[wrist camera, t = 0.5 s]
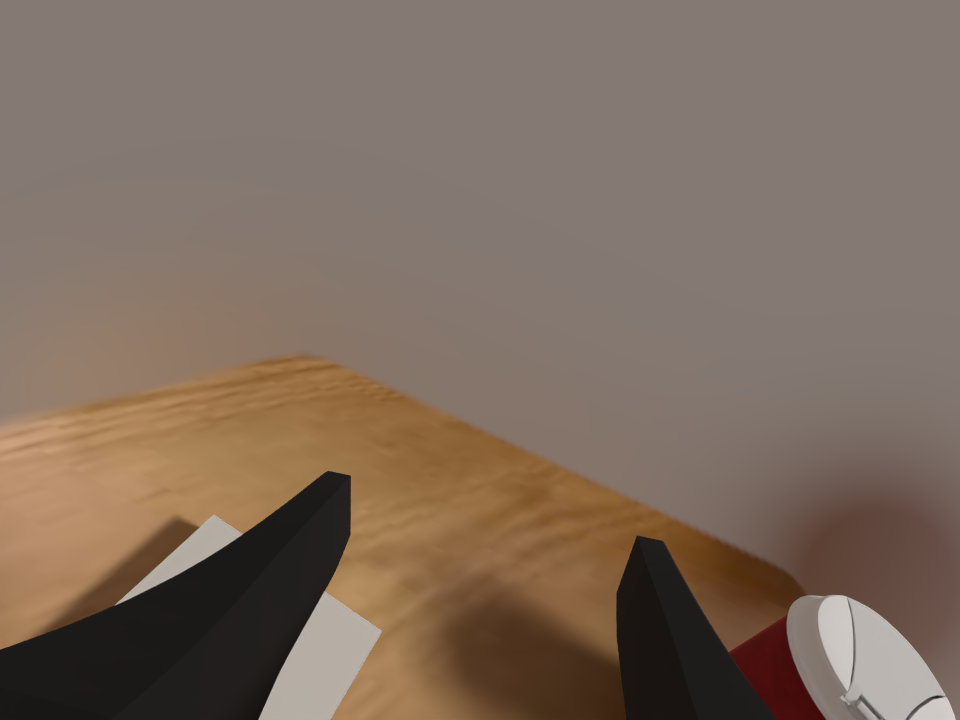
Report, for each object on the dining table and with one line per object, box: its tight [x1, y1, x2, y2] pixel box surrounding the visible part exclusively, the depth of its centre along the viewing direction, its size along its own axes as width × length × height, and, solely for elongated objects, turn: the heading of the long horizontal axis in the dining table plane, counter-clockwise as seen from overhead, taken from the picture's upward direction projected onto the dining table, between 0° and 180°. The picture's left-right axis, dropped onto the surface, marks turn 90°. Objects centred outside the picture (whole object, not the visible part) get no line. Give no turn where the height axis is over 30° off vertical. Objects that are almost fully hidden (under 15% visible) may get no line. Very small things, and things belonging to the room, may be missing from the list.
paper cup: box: [729, 595, 956, 720], centre depth 27 cm, size 8×8×14 cm
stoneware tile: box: [114, 515, 382, 720], centre depth 24 cm, size 11×11×2 cm
